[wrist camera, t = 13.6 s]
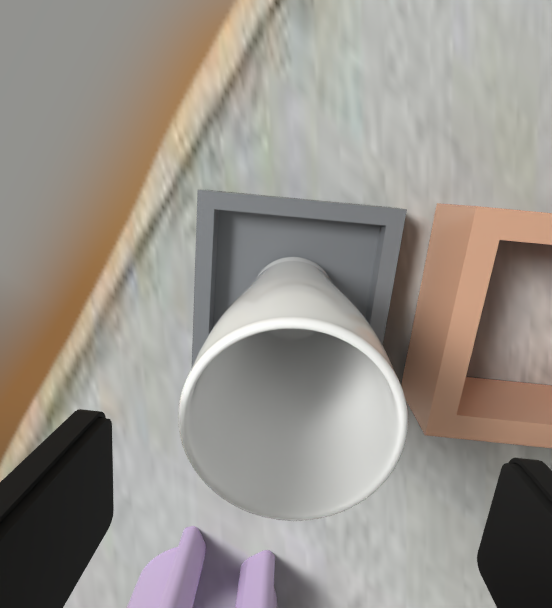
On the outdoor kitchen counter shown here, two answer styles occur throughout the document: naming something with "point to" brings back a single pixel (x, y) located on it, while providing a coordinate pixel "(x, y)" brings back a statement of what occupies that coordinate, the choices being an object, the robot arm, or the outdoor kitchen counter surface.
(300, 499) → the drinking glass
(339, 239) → the charcoal tray
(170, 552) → the clip
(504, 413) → the terracotta holder
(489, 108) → the outdoor kitchen counter surface
